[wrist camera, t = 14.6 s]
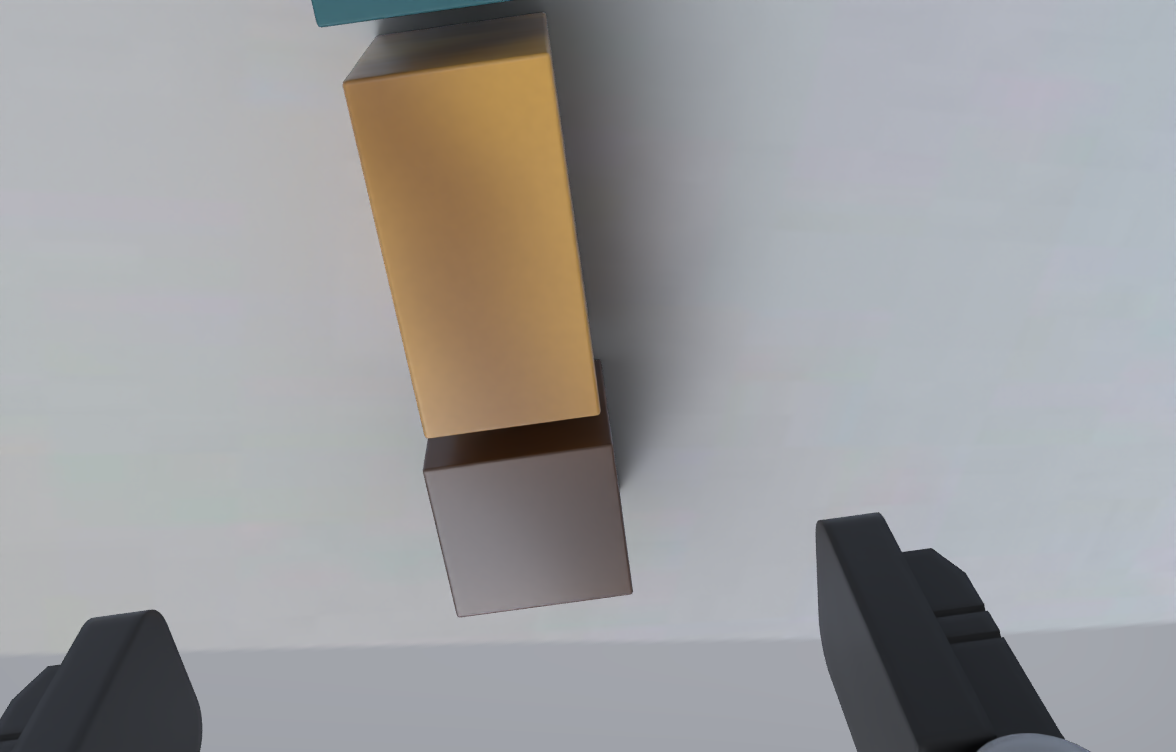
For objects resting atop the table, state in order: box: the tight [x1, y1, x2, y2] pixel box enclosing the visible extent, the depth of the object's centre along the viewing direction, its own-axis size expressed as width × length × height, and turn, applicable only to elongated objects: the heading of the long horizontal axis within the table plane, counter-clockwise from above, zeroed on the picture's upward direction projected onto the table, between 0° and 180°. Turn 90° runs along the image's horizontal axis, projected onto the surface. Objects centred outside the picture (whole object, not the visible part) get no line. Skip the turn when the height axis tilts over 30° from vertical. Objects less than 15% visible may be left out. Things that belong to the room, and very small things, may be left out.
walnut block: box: [423, 359, 633, 617], centre depth 28 cm, size 4×4×4 cm
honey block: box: [343, 12, 601, 438], centre depth 24 cm, size 4×8×5 cm, turn 7°
